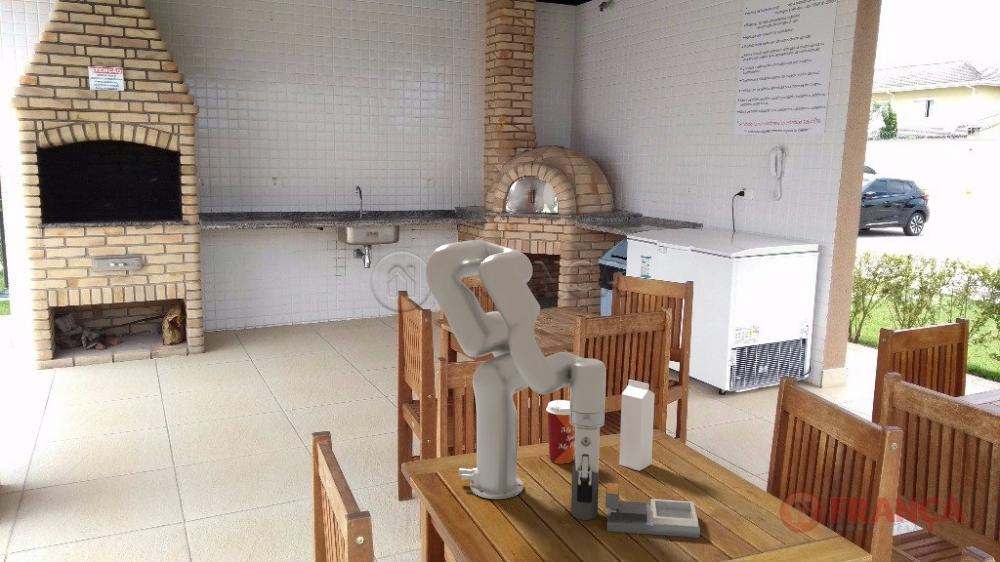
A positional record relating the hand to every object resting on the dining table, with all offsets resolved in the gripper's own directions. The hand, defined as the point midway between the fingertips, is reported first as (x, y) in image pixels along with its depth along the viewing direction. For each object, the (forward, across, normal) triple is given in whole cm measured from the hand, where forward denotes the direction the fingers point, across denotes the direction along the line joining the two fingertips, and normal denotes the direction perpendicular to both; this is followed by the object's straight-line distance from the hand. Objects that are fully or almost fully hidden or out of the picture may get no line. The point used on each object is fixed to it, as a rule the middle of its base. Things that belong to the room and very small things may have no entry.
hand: (584, 494), depth 168 cm
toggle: (+1, -2, -6) cm, 6 cm away
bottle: (+5, 0, 0) cm, 5 cm away
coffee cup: (+5, +30, +7) cm, 31 cm away
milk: (+5, +30, -12) cm, 33 cm away
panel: (+5, -2, -14) cm, 15 cm away
